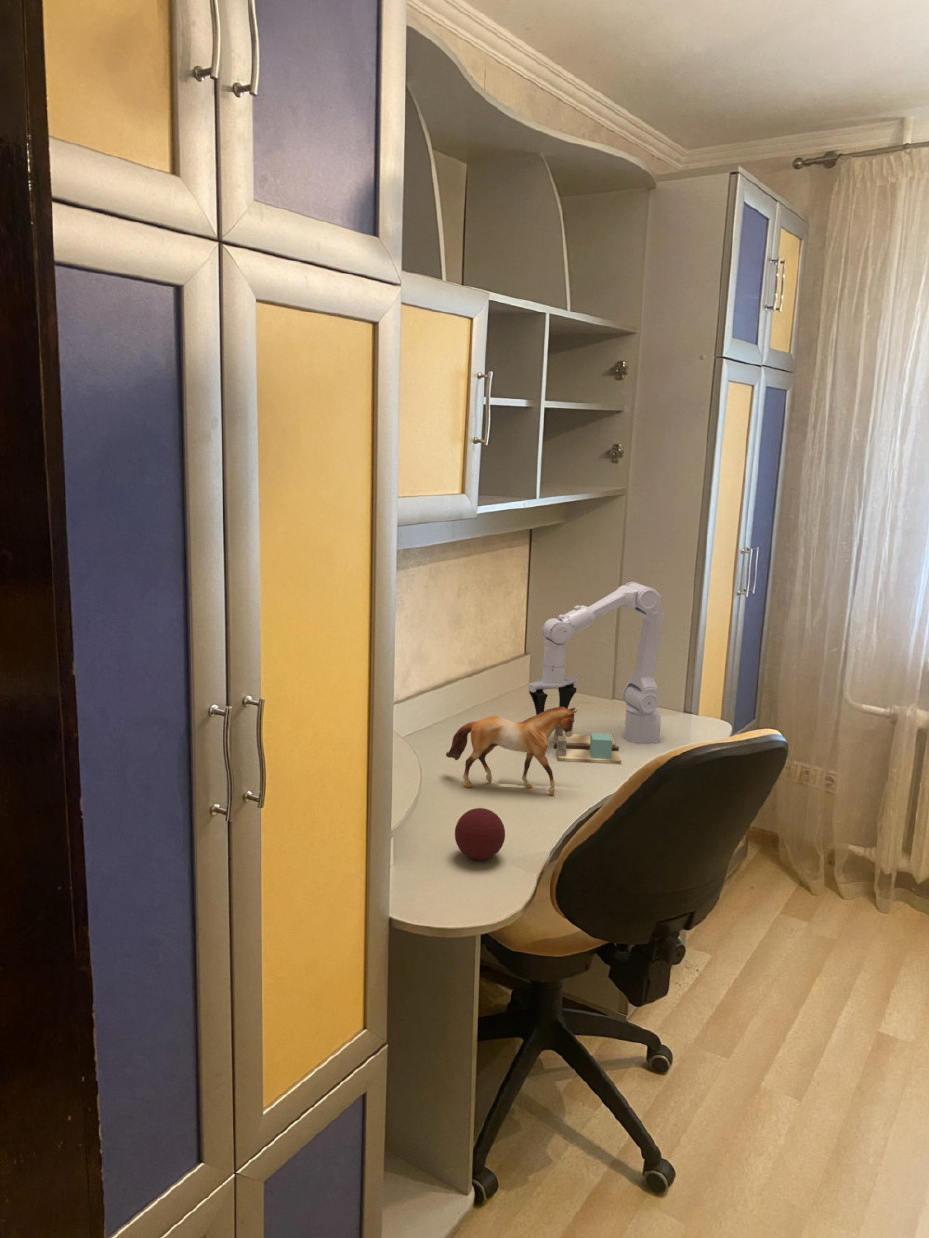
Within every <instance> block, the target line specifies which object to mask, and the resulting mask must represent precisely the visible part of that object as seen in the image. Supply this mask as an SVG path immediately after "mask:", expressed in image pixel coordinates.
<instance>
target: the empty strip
mask: <svg viewBox="0 0 929 1238" xmlns="http://www.w3.org/2000/svg"><path fill="white" fill-rule="evenodd" d="M553 732H554V733H553V739H554V743H557V742H558V736H566V735H565V733H564V730H563V728H562V727H561V726H560V725H557V726H556V728H555V729H554V730H553ZM590 737H591V734H580V733H579V734H578V733H573V735H572V736H571V737H567V736H566V741H567V744H581V745H590ZM611 738H612V746H616V742H615V739H614V736H613V735H611Z"/></svg>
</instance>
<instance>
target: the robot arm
mask: <svg viewBox="0 0 929 1238" xmlns="http://www.w3.org/2000/svg"><path fill="white" fill-rule="evenodd" d="M622 607H623V608H628V609H629V608H630V609H634V610H635V611H636V612H637V613H638V615H639V616H640V617H641V618H642V622H641V627H640V633H639V634H640V635H639V639H638V645H637V652H636V658H635V665H634V669H633V674H632V675H631V676H630V677H629V678H628V679H627V684H626V685H625V687H624V689H623V691H622V700H623V701H624V703H625V709H626V710H625V721H624V731H623V732H624V733H623V734H624V735H623V739H624V740H625V741H627V742H630V743H632V744H633V743H634V744H660V737H661V735H660V734H661V728H662V727H661V724H662V722H661V720H662V719H661V717H662V716H661V713H660V711H656V710H657V708H658V706H659V703H660V702H659V701H660V700H659V696H658V690H659V687H658V684H657V683H656V681H655V672H656V666H657V660H658V653H659V649H660V643H661V637H662V631H663V630H662V629H663V625H664V619H665V611H664V607H663V605H662V595H661V594H660V593H659V592H658V591H657V590H656V589H655V588H653V587H649V586H646V585H643V584H641V583H639V582H637V581H630V582H627V583H625V584H623V585H621V586H619V587H618V588H617V589H616V590H614V591H613V592H611V593H610V594H608V595H606V596H605V597H603V598H601V599H600V600H598V601H596V602H595V603H593V604H591V605H590V606H586V605H579V604H578V605H576V606H573V609H571V610H570V611H568V612H567V613H564V614H559V615H558V617H557V618H553V617H552V618H549V619H548V620H546V621H545V623H544V624H543V626H542V627H541V629H540V630H541V635H542V636H543V638H544V648H543V665H542V666H543V667H542V677H541V679H540V680H536V681H533V682H530V683H528V693H529V695H530V697H531V699H532V701H533V704H534V709H535V715H538V714H540V713H541V712H543V711H545V706H546V701H547V699H548V694H547V693H546V692H545V691H546V690H552V689H557V688H558V689H557V690H558V696H559V701H558V702H559V703H558V707H565V708H567V709H569V706H570V704H571V701H572V698H573V697H574V696H575V694H576V693H577V687H578V678H576V677H573V676H570V677H568V676H567V677H566V676H565V674H566V658H567V643H568V642H569V641H570V639H571V638H572V636H574V635H575V634H577V633H579V632H580V631H583V630H584V629H587V628H588V627H591V626H592V625H593V624H594V622H595V619H596V618H599V617H600V616H603V615H604V614H607V613H610V612H612V611H614V610H616V609H618V608H622ZM544 690H545V691H544Z"/></svg>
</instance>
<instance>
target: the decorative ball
mask: <svg viewBox="0 0 929 1238" xmlns="http://www.w3.org/2000/svg"><path fill="white" fill-rule="evenodd" d="M505 838H506V829H505V825H504V823H503V821H502V818H500V817H499V815H498V814H497V813H496V812H494V811H492V810H491V809H488V808H485V807H484V808H483V807H477V808H472V809H469V810H468V811H466V812H464V813H463V814H462V815H461V816H460V818H459V819H458V821H456V825H455V828H454V839H455V843H456V846H457V848H458V849H459V850H460V852H462V854H463V855H464V856H466V857H468V858H470V859H472V860H476V861H477V860H478V861H479V860H481V861H482V860H488V859H490V858H492V857H494V856H495V855H497V854H498V853H499V852H500V850H501V849H502V847H503V845H504V843H505V841H506V840H505Z"/></svg>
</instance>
